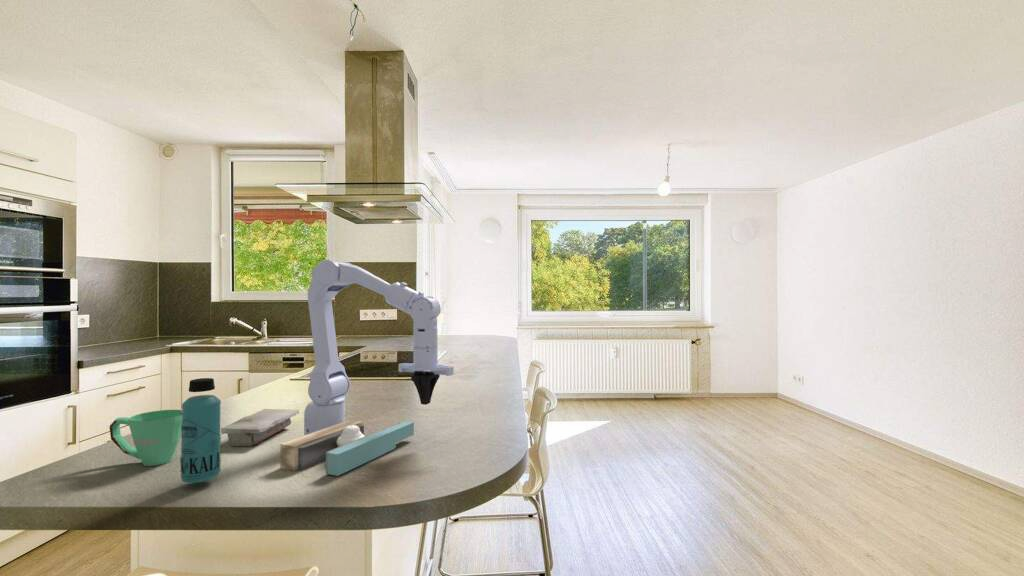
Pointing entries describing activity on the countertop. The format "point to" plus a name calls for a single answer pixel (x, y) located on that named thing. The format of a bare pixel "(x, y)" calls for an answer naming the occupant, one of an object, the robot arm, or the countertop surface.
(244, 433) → the grey box
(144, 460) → the mug
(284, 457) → the wooden block
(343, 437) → the white ribbed dome
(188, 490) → the countertop surface
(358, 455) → the movable jaw
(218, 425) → the beverage bottle
